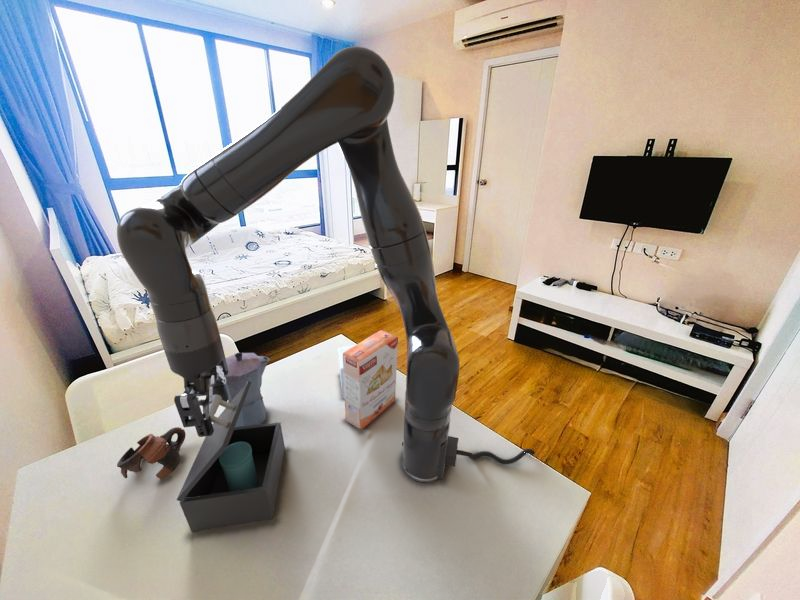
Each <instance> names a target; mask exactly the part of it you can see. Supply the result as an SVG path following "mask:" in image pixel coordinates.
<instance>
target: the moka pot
mask: <svg viewBox="0 0 800 600" xmlns="http://www.w3.org/2000/svg"><path fill="white" fill-rule="evenodd" d="M225 358H226V363H227V367H228V371H229V373H228V375H225V378H226V383H225V384H224V385H225V387H226V391H227V395H228V401H227V402H228V403H230V402H231V401H232V400H233V399H234V397H235V396H236V395H237V394H238V392H239V391H240V390H241V389H242V387H243V386H244V385H245V384H246V383H247V381H250V382H251V385H250V388H249V391H248V393H247V396H246V399H245V401H244V404H243V407H242V409H241V412H240V415H239V417H238V420H237V423H236V425H235V427H241V426H250V425H259V424H263V422H264V421H265V420H266V418H267V408H266V405H265V402H264V397H263V396H262V393H261V387H262V382H263V374H264V372H265V370H266V367H267V365H268V363H269V361H271V359H270V358H269V357H268V356H265V355H264V356H262V355H257V354H256V353H255V352H236V353H234V354H232V355H230V356H228V357H225ZM219 367H220V369H222V366H219Z"/></svg>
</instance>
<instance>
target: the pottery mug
mask: <svg viewBox="0 0 800 600" xmlns="http://www.w3.org/2000/svg"><path fill="white" fill-rule="evenodd" d="M174 435H177V438H176V440H175V441H173V440H172V439H173V436H174ZM185 440H186V430H185V429H183V428H182V427H180V426H176V427H172V428H170V429H169V430H167V431H166V432H165V433H164V434H161V435H160V436H155V435H154V434H153V433H149V434H147V435H145V436H143V437H141V438H140V439H139V440H138V441H137V442H136V444H138V446H137V447H136V448H133V447H130V448H128V449H127V451H125V453H123V455H122V456H121V457H120V459H119V460H118V461H117V463H116V467H117V468H120V474H121V475H122V477H123V478H124V479H128V471H129V472H133V473H134V474H136V473H139V472H142V470H143V469H142V467H141V463H142V460H145V461H146V463H147V464H151V465H153V464H156V463H158V464H159V465H162V468H161V469H160V470H159V471H158V472H157V473H155V477H156V478H158V479H160V480H163V479H164V478H165V477H168V476H169V475H170V474H171V473H173V472H174V471H175V470H176V469H177V467H178V466H179V464H180V462H181V454H180V449H181V447H182V446H183V444H184V442H185ZM134 449H135V450H134Z"/></svg>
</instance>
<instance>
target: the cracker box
mask: <svg viewBox="0 0 800 600" xmlns="http://www.w3.org/2000/svg"><path fill="white" fill-rule="evenodd" d="M354 345H355V346H353V345H352V346H353V347H352V348H350V349H348V350H347V351H345V352H343V372H344V394H345V398H344V410H345V411H344V412H345V413H344V414H345V421H346V422H347V423H349V424H351V425H352V426H353V427H355V428H358V429H359V430H362V429H365V428H366V427H367V426H368V425H370V423H372V422H373V421H374V420H375V419H377V417H378V416H380V415H381V414H382V413H383V412H384V411H386V410H387V409H388V408H389V407H390V406H391V405H392V404H393V403H394V402H395V401H396V395H397V393H396V392H397V369H398V348H399V346H398V345H399V337H398V336H397V335H394V334H392V333H390V332H388V331H385V330H383V329H380V330H379V331H377V332H375V333H374V334H372V335H370V336H368V337H367V338H365V339H364V340H362V341H360V342H358V343H357V344H354Z"/></svg>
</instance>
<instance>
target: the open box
mask: <svg viewBox="0 0 800 600" xmlns="http://www.w3.org/2000/svg"><path fill="white" fill-rule="evenodd" d="M236 442H247V443H248V444H250V446H251V449H252V457H253V461H254V465H255V469H256V473H257V477H258V484H257V486H256V488H252V489H245V490H238V491H229V487H228V484H227V481H226V477H225V474H224V471H223V468H222V466H221V464H220V461H219V457H220V456H219V457H218V459H217V460H216V461H215V462H214V463H213V465H212V466H211V467H210V468H209V469H208V470H207V472H206V473H205V474H204V475H203V476H202V477H201V479H200V480H199V481H198V482H197V483H196V484H195V486H194V487H193V488H192V489H191V490H190V492H189V493H188V494H187V495H186V496H185V497H184V499H183V500H182V501H179V505H180V507H181V510H182V512H183V515H184V517H185V519H186V523H187V524H188V527H189V530H190V531H191V533H192V532H193V533H194V532H201V531H207V530H213V529H219V528H225V527H231V526H239V525H245V524H252V523H257V522H259V523H260V522H264V521H270V520H273V519H274V512H275V507H276V503H277V502H276V501H277V495H278V491H279V486H280V485H279V484H280V479H281V475H282V467H283V463H284V458H285V453H286V446H285V445H286V444H285V440H284V433H283V430H282V423H281V422H280V421H279V422H269V423H261V424H259V425H250V426H241V427H235V428H234V431H233V433H232V436H231V439H230V441H229V444H228V446H229V445H231V444H233V443H236Z"/></svg>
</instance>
